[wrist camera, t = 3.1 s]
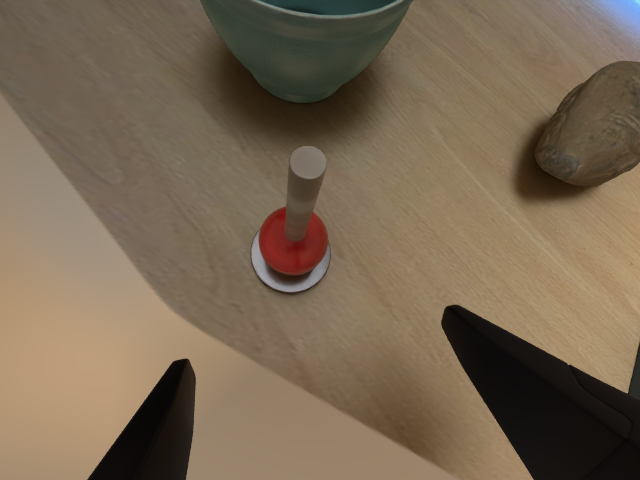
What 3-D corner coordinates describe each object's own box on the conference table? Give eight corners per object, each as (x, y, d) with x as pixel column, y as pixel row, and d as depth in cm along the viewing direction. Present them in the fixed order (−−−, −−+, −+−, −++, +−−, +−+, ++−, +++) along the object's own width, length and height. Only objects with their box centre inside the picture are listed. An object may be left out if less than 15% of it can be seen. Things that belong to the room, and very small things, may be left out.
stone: (573, 83, 32) (665, 9, 24) (633, 138, 31) (749, 80, 23) (485, 163, 27) (565, 104, 20) (553, 231, 26) (664, 196, 19)
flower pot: (381, 146, 26) (447, 35, 16) (199, 127, 24) (139, -15, 14) (376, 14, 30) (426, -141, 20) (221, -11, 28) (188, -198, 18)
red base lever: (301, 309, 21) (338, 296, 8) (236, 265, 22) (163, 180, 8) (341, 245, 23) (429, 146, 10) (281, 206, 23) (283, 53, 10)
